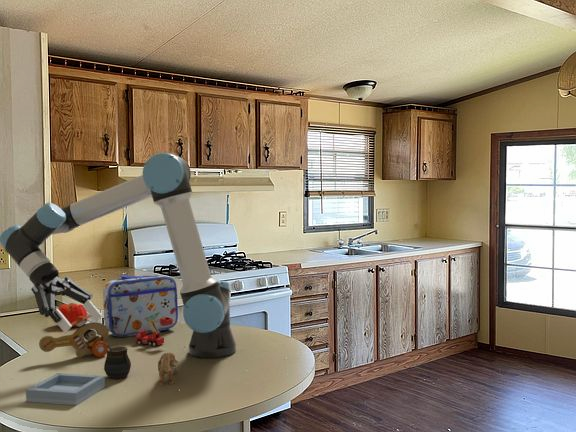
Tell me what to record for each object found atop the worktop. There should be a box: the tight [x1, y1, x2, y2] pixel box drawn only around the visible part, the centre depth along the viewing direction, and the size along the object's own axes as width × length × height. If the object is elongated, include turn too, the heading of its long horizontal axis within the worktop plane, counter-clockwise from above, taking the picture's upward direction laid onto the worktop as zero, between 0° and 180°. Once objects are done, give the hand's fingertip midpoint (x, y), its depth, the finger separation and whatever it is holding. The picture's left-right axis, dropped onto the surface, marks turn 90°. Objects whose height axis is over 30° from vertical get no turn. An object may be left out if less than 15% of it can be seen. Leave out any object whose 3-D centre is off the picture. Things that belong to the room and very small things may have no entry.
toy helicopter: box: [38, 314, 110, 358], centre depth 175 cm, size 8×21×14 cm, turn 123°
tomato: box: [57, 302, 88, 328], centre depth 219 cm, size 13×12×8 cm
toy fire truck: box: [135, 317, 173, 347], centre depth 190 cm, size 3×14×10 cm, turn 68°
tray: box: [25, 372, 106, 406], centre depth 143 cm, size 14×13×3 cm
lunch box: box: [102, 274, 179, 338], centre depth 206 cm, size 28×10×22 cm, turn 122°
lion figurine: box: [157, 351, 179, 386], centre depth 153 cm, size 15×5×9 cm, turn 14°
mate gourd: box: [103, 344, 132, 380], centre depth 156 cm, size 7×8×10 cm
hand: (84, 324), depth 159 cm, fingers open, 13 cm apart
